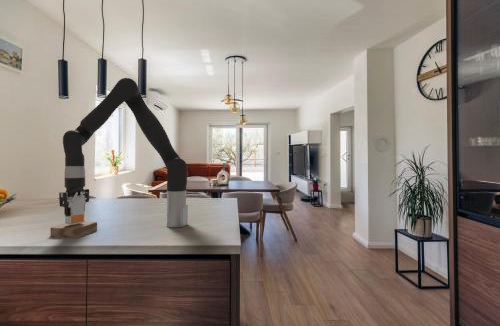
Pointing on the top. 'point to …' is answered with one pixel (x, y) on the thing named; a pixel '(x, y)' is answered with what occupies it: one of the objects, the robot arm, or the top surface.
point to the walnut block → (73, 229)
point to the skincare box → (76, 211)
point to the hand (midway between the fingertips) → (75, 214)
